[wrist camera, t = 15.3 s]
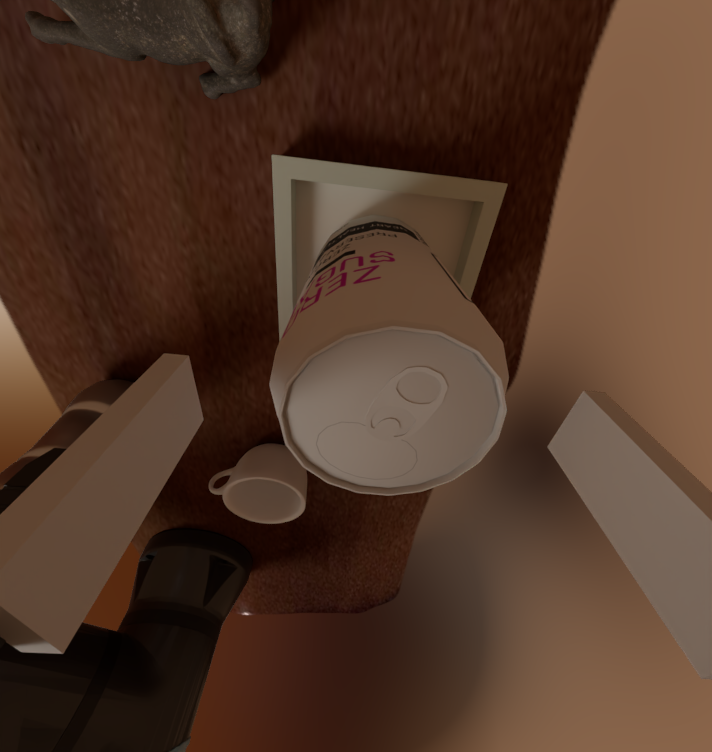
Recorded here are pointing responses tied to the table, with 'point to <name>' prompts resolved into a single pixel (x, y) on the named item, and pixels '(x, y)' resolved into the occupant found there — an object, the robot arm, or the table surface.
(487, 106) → the table surface
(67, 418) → the plastic bottle
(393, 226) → the supplement can
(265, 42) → the dog figurine
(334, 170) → the can tray
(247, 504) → the teacup
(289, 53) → the table surface
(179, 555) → the robot arm
